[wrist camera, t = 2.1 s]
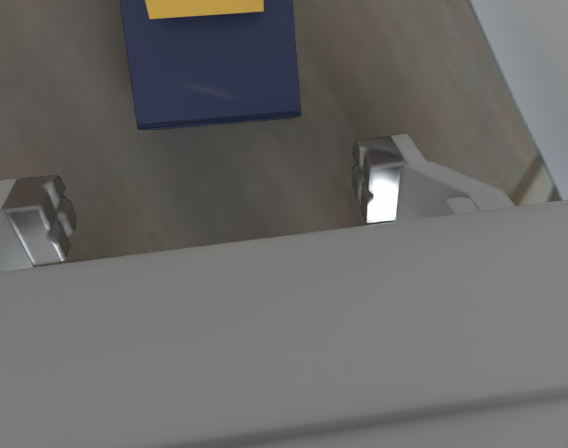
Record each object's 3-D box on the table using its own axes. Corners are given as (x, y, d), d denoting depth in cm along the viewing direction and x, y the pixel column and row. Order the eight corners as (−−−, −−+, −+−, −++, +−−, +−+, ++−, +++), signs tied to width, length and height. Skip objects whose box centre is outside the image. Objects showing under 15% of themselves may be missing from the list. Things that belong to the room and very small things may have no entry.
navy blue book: (292, 118, 35) (301, 116, 30) (152, 130, 35) (137, 129, 30) (283, 0, 34) (290, -23, 29) (136, 9, 33) (117, -12, 28)
